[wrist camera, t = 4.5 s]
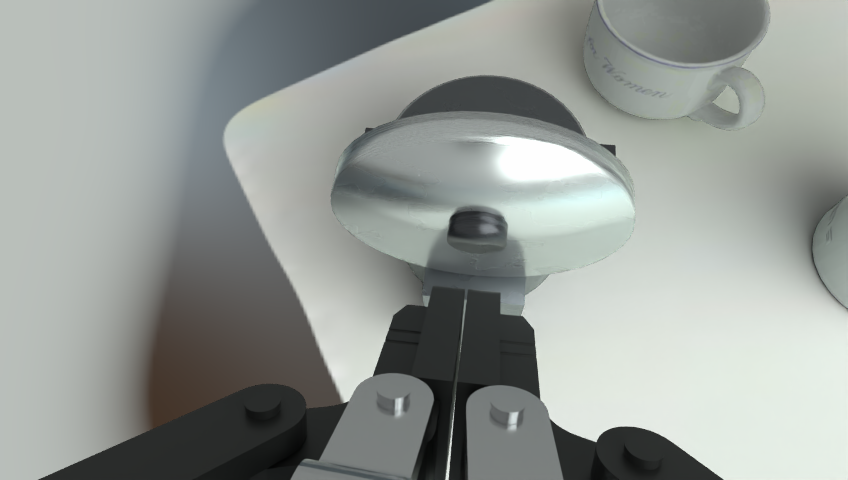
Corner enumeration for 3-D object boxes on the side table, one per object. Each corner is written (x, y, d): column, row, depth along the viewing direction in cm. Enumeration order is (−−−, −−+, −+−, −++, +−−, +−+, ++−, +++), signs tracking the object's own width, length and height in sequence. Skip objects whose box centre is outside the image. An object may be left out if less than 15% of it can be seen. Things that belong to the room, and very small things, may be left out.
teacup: (555, 40, 47) (573, -44, 40) (687, 9, 47) (728, -80, 40) (620, 192, 42) (654, 127, 34) (768, 156, 42) (833, 84, 35)
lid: (679, 124, 19) (682, 180, 18) (598, 264, 30) (598, 302, 29) (304, 99, 20) (292, 151, 19) (360, 242, 31) (354, 279, 30)
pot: (589, 162, 43) (621, 77, 34) (586, 356, 37) (623, 315, 29) (389, 147, 44) (371, 62, 35) (358, 333, 39) (328, 286, 30)
